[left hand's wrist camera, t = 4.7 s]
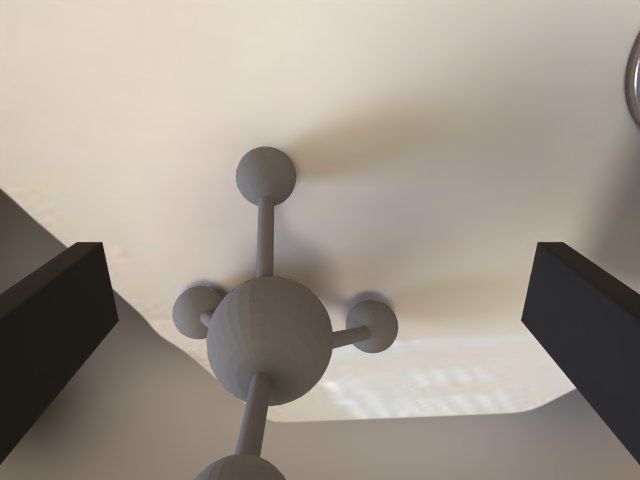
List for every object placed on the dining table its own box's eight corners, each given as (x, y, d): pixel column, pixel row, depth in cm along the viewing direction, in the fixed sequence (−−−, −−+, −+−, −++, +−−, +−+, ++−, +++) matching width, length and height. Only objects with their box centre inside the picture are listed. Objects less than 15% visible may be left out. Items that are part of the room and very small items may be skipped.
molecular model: (393, 134, 39) (574, 278, 11) (392, 329, 47) (496, 691, 20) (150, 149, 40) (-246, 322, 12) (190, 340, 48) (11, 706, 20)
